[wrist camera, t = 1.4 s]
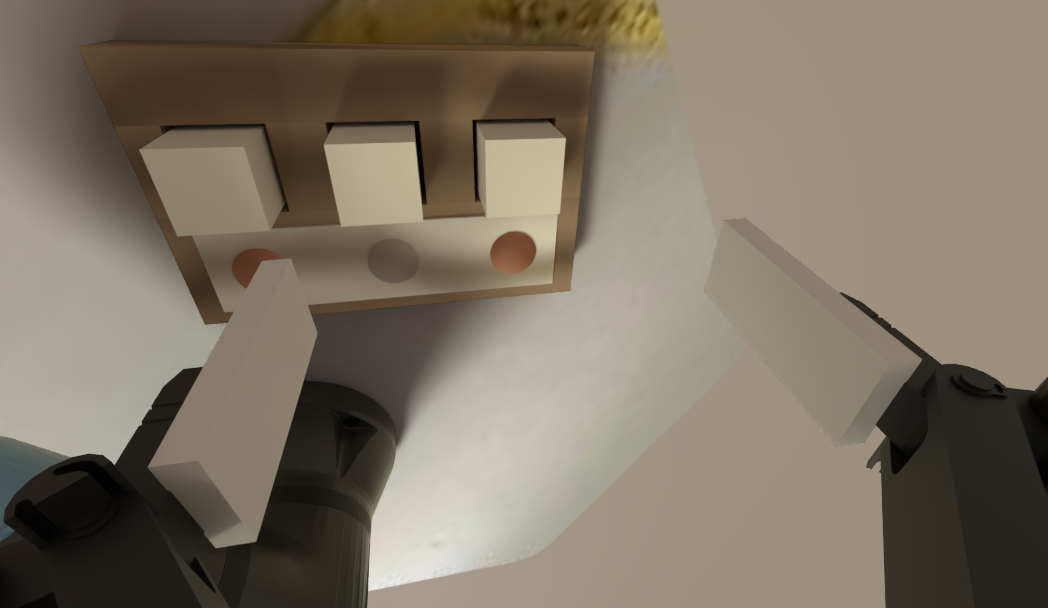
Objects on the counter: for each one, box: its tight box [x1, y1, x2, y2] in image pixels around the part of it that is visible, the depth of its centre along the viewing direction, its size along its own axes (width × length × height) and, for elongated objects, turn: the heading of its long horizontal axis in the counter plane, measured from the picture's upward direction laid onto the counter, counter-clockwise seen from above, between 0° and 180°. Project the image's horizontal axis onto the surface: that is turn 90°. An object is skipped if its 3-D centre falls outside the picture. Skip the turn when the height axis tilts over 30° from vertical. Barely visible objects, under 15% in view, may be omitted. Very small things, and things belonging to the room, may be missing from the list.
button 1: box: [475, 119, 566, 218], centre depth 27 cm, size 4×4×4 cm
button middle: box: [324, 121, 423, 227], centre depth 26 cm, size 4×4×4 cm
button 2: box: [139, 124, 287, 236], centre depth 24 cm, size 4×4×4 cm
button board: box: [78, 40, 595, 325], centre depth 29 cm, size 16×25×3 cm, turn 88°
